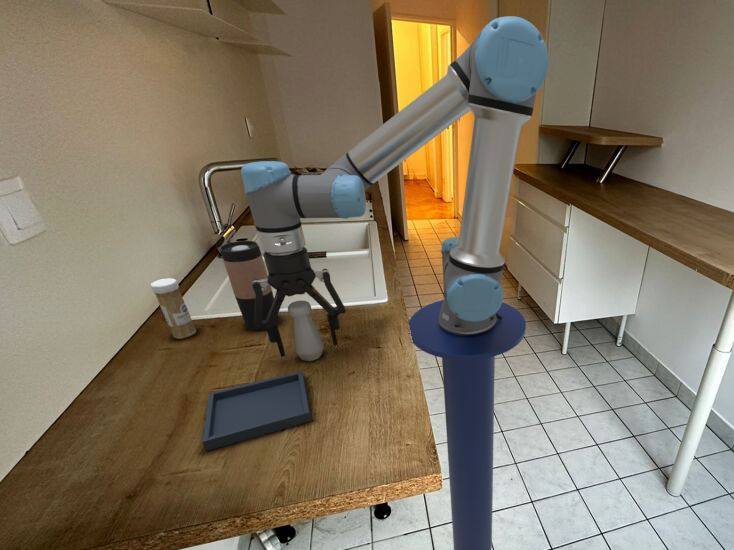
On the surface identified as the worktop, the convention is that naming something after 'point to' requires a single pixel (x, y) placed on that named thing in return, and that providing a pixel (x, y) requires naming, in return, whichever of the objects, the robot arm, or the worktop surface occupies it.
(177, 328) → the sprinkles bottle
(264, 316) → the travel mug
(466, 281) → the robot arm
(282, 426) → the tray
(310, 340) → the salt shaker
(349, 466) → the worktop surface
